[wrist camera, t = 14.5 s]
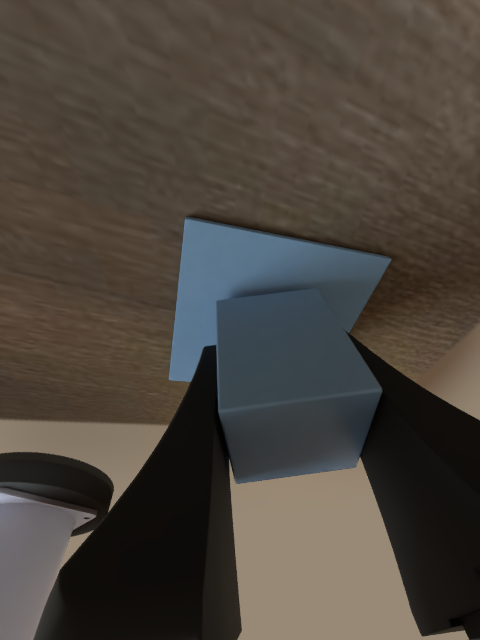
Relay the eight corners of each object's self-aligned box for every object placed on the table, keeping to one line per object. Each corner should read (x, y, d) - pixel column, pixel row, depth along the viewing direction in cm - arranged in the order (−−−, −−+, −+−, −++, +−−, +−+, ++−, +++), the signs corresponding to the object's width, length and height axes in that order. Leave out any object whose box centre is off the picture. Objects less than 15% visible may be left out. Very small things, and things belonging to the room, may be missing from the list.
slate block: (317, 286, 10) (384, 389, 6) (311, 359, 13) (357, 468, 9) (214, 299, 10) (217, 412, 6) (227, 371, 13) (235, 485, 9)
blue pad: (169, 375, 14) (168, 380, 13) (185, 215, 9) (185, 218, 9) (313, 387, 15) (315, 392, 15) (388, 256, 11) (392, 259, 11)
